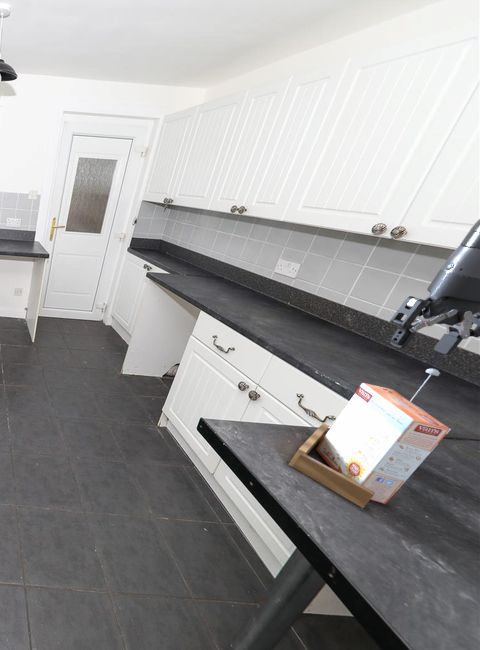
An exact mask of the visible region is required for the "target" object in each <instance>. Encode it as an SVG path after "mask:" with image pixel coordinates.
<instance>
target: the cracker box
mask: <svg viewBox="0 0 480 650" xmlns="http://www.w3.org/2000/svg"><path fill="white" fill-rule="evenodd" d="M417 406H418V405H416V404H415V403H413V401H411V402H410V400H409V399H407V398H406V397H405V396H403V395H401V394H400V393H399V392H397V391H396V390H394V389H393V388H388V387H384V386H379V385H375V384H372V383H371V384H370V383H367V382H362V383H361V384H360V385H359V387H357V389H356V391H355V393H354V394H353V395H352V397H351V398H350V400H349V401H348V402H347V404H346V406H345V407H344V408H343V409H342V411H341V413H340V414H339V415H338V417H337V418H336V420H335V421H334V422H333V424H332V426H331V427H330V429H328V430H329V431H328V433H327V434H326V436H325V437H324V439H323V440H322V441H321V443H319V444H318V446H317V447H316V448H315V451H316V452H317V454H319V456H320V457H321V458H322V459H323V461H324V462H325V463H326V464H327V466H328V467H330V468H331V469H333V470H335V471H337V472H339V473H340V474H342V475H344V476H346V477H348V478H350V479H351V480H353V481H355V482H357V483H359V484H361V485H362V486H364V487H366V488H368V489H370V490H371V491H373V492H375V494H374V496H373V497H372V498H371V499H370V500H369V501H373V502H376V503H380V504H383V505H386V504H387V503H388V502H389V500H391V498H392V497H393V496H394V495H395V494H396V493H397V492H398V491H399V489H400V488H401V487H402V486H403V485H404V484H405V483H406V482H407V480H408V479H409V478H410V477H411V476H412V475H413V473H414V472H415V471H416V470H417V469H418V467H419V466H420V465H421V464H422V463H424V460H426V459H427V457H428V456H429V455H430V454H431V453H432V452H433V451H434V449H435V448H436V447H437V446H438V445H439V444H440V443H441V442H442V440H444V438H445V437H446V436H447V435H448V434H449V432H450V431H451V430H452V429H451V428H450V427H448V426H447V425H446V424H444V423H443V422H440V421H439V420H438V419H437V418H435V417H433V416H432V415H430V414H429V413H428V412H426V410H424V409H423V408H421V407H420V406H418V407H417ZM420 408H421V409H420ZM423 410H424V411H423Z"/></svg>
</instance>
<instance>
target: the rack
mask: <svg viewBox="0 0 480 650" xmlns="http://www.w3.org/2000/svg"><path fill="white" fill-rule="evenodd" d="M329 427H330V425H328V424H327V423H324V422H322V423H321V424H320V426H319V427H318V428H317V429H316V430H315V431H314V432H313V433H312V434H311V435H310V436H309V437H308V439H306V440H305V442H304V443H303V444H302V445H301V446H300V447H299V448H298V450H297V451H296V453H295V454H294V456H293V457H292V459H291V460H290V462H289V463H288V466H290V467H292V468H293V469H295V470H296V471H299V472H300V473H302V474H304V475H305V476H307V477H309V478H310V479H312V480H314V481H316V482H317V483H319V484H321V485H322V486H324V487H326V488H327V489H329V490H331V491H332V492H334V493H336V494H338V495H340V496H341V497H343V498H345V499H347V500H348V501H350V502H352V503H353V504H355V505H356V506H358V507H360V508H361V509H363V508H365V506H366V505H367V504H368V503H369V502H370V501H371V500H370V499H371V498H372V497H373V496H374V494H375V492H373V491H371V490H370V489H368V488H366V487H364V486H362V485H361V484H359V483H357V482H355V481H353V480H351V479H350V478H348V477H346V476H344V475H342V474H340V473H339V472H337V471H335V470H333V469H331V467H330V466H329V465H326V464H324V463H322V462H320V461H319V460H317V459H315V458H313V457H311V456H310V455H308V454H310V453H311V451H312V450H313V449H314V447H315V446H316V445H317V444H318V443H319V444H320V443H321V441H322V440H323V439H324V437H325V436H326V434H327V433H328V431H329V430H330V429H329Z"/></svg>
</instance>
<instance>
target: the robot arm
mask: <svg viewBox="0 0 480 650" xmlns="http://www.w3.org/2000/svg"><path fill="white" fill-rule="evenodd" d="M426 290H427V291H428V292H429V293H430V294H429V296H427V297H426V298H425V299H422V298H419V297H417V296H416V297H415V296H412V295H409V296H407V297H406V298H405V300H403V302H402V303H401V305H400V307H398V309H397V311H396V312H395V313H394V315H392V317H391V319H390V320H389V323H390V324H392V325H394V326H396V327H397V330H395V333H394V334H393V335H392V337H391V338H390V340H389V341H390V342H389V344H390V345H391V346H393V347H396V348H398V349H406V347H408V345H409V343H410V342H411V340H412V339H413V338H414V336H415V335H416V332H418V331H420V330H422V329H424V328H425V327H432V326H434V325H445V328H446V333H444V334H443V335H442V336H441V338H440V339H439V340H438V342H437V343H436V344H435V346H434V347H433V350H434V351H436V352H438V353H440V354H443V355H451V354H452V353H453V352H454V351H455V350H456V349H457V347H458V346H459V345H460V343H462V341H463V340H467V339H468V338H471V337H472V338H473V337H474V338H479V337H480V218H479V219H478V220H477V221H476V222H474V224H473V225H472V226H471V227H470V229H469V230H468V232H467V234H466V235H465V236H464V238H463V239H462V241H461V242H460V244H459V245H458V247H457V248H455V250H454V251H453V252H452V253H451V254H450V255H449V256H448V257H447V259H446V260H445V262H444V263H443V265H442V266H441V268H440V269H439V271H438V272H437V274H436V275H435V276H434V278H433V279H432V281H431V282H430V284H429V285H428V287H427V289H426ZM405 315H406V317H405V318H404V319H403V317H404V316H405ZM414 323H415V324H414ZM474 324H475V325H476V326H475V328H474V329H473V325H474Z"/></svg>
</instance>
